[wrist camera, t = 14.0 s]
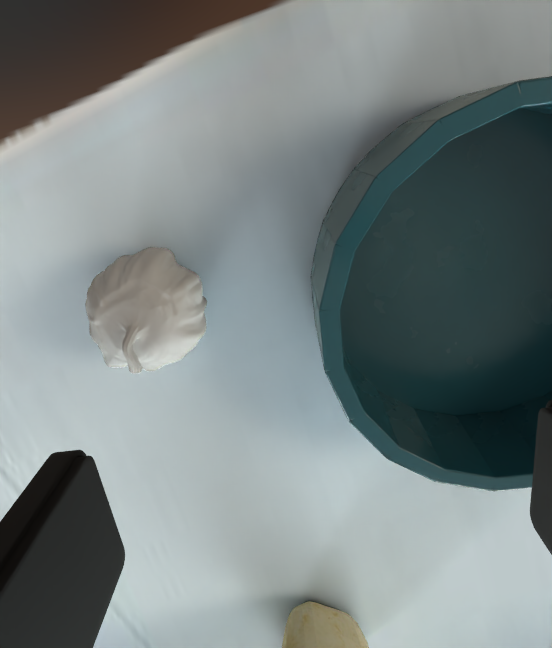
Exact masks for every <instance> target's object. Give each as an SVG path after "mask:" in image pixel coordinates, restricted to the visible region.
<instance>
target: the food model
mask: <svg viewBox="0 0 552 648" xmlns="http://www.w3.org/2000/svg"><path fill="white" fill-rule="evenodd" d="M282 648H369V647H368V643H367V641H366V639H365V637H364V635H363V633H362V631H361V630H360V628H359V626H358V624H357V622H356V621H355V620H354V619H353V618H352V617H351V616H350V615H349V614H347V613H345V612H342V611H339V610H337V609H334V608H331V607H327V606H324V605H322V604H319V603H315V602H310V601H308V602H305V603H303V604H301V605H299V606H297V607H295V608H293V609H292V611H291V613H290V614H289V617H288V620H287V624H286V627H285V633H284V638H283V644H282Z"/></svg>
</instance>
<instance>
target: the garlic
mask: <svg viewBox="0 0 552 648" xmlns="http://www.w3.org/2000/svg"><path fill="white" fill-rule="evenodd" d="M202 292H203V287H202V282H201V280H200V277H199V276H198V274H197V273H195V272H193V271H190V270H189V269H187V268H185V267H183V266H181V265H179V264H178V263H177V262H176V259H175V257H174V254H173V252H172V251H170V250H169V249H167V248H158V247H149V248H146V249H144V250H142V251H140V252H138V253H136V254H134V255H124V256H121V257H119V258H117V259H116V260H115V261H114V263H112V264H111V265H109V266H108V267H107V268H106V269H105V271H102V272H100V273H99V274H98V275H96V276H95V278H94V279H93V281H92V283H91V286H90V287H89V289H88V292H87V299H86V303H85V306H86V311H87V315H88V319H89V321H90V336H91V338H92V340H93V341H94V342H95V343H96V344H98V347H99V348H100V350H101V351H102V354H103V358H104V361H105V363H106V365H107V366H109V367H111V368H123V367H126V366H128V367H129V371H130V372H131V373H132V374H138V373H140V372H141V370H142V369H144V370H146V371H148V372H153V371H156V370H158V369H159V368H161V367H162V366H164V365H166V364H170V363H174V362H178V361H180V360H181V359H182V358H183V357H184V356H185V355H186V354H187V353H188V352H190V351H191V350H192V349H194V348H195V346H196V345H197V343H198V341H199V340H200V339H201V338H202V336H203V335H204V334H205V331H206V318H205V314H204V311H205V308H206V306H207V300H206V298H205V297H204V296H202Z"/></svg>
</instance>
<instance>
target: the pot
mask: <svg viewBox="0 0 552 648" xmlns="http://www.w3.org/2000/svg"><path fill="white" fill-rule="evenodd" d="M311 286H312V299H313V307H314V317H315V326H316V331H317V336H318V341H319V346H320V351H321V356H322V361H323V366H324V370H325V373H326V375H327V377H328V379H329V381H330V383H331V386H332V388H333V390H334V392H335V394H336V396H337V398H338V400H339V402H340V404H341V406H342V408H343V411H344V413H345V415H346V417H347V419H348V420H349V422H350V423H351V424H352V425H353V426H354V427H355V428H356V429H357V430H358V431H359V432H360V433H361V434H362V435H363V436H364V437H365V438H366V439H367V440H368V441H369V442H370V443H371V444H372V445H373V446H374V447H375V448H376V449H378V450H379V451H380V452H381V453H382V454H383V455H384V456H385V457H386V458H387V459H388V460H390V461H392V462H395V463H397V464H399V465H401V466H403V467H405V468H407V469H409V470H411V471H413V472H415V473H417V474H420V475H422V476H424V477H426V478H428V479H430V480H432V481H434V482H438V483H444V484H450V485H457V486H463V487H469V488H475V489H481V490H487V491H502V490H513V489H524V488H532V481H533V469H534V457H535V446H536V434H537V423H538V414H539V411H540V409H541V408H546V405H547V403H548V401H550V400H552V76H550V77H543V78H535V79H528V80H521V81H517V82H513V83H509V84H505V85H501V86H497V87H493V88H489V89H485V90H481V91H478V92H474V93H470V94H466V95H462V96H459V97H457V98H455V99H453V100H451V101H449V102H447V103H444V104H442V105H440V106H437V107H435V108H433V109H431V110H429V111H427V112H425V113H423V114H421V115H419V116H417V117H415V118H413V119H412V120H410V121H407V122H405V123H403V124H402V125H400V126H399V127H398V128H397V129H396V130H395V131H394V132H392V133H391V134H390V135H388V136H387V137H386V138H385V139H384V140H383V141H381V142H380V143H379V144H378V145H377V146H376V147H375V148H373V149H372V150H371V151H370V152H369V153H368V154H367V156H366V157H365V158H364V159H363V160H362V161H361V162H360V163H359V164H358V165H357V166H356V167H355V168H354V170H353V171H352V172H351V174H350V176H349V177H348V178H347V180H346V181H345V183H344V184H343V186H342V187H341V188H340V190H339V191H338V193H337V195H336V197H335V199H334V201H333V203H332V205H331V206H330V208H329V210H328V212H327V215H326V217H325V219H324V220H323V224H322V228H321V230H320V233H319V237H318V241H317V245H316V249H315V253H314V260H313V267H312V271H311Z"/></svg>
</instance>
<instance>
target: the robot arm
mask: <svg viewBox="0 0 552 648" xmlns="http://www.w3.org/2000/svg"><path fill="white" fill-rule="evenodd" d="M530 516H531V520H532V523H533V526H534V528H535V530H536V532H537V533H538V535H539V536H540V538H541V539H542V541H543V542H544V544H545V545H546V547H547V548H548V550H549V551H550V553H551V554H552V400H550V401H548V403H547V405H546V408H541V409H540V411H539V414H538V423H537V434H536V446H535V457H534V469H533V481H532V492H531V504H530ZM124 560H125V550H124V546H123V543H122V541H121V538H120V535H119V532H118V529H117V526H116V523H115V520H114V517H113V514H112V511H111V508H110V505H109V502H108V499H107V497H106V494H105V491H104V488H103V485H102V482H101V479H100V476H99V473H98V470H97V467H96V464H95V461H94V459H93V458H92V457H91V456H86V454H85V453H84V452H83V451H82V450H74V451H65V452H56V453H53V454H51V455H50V456H49V458H48V459H47V460H46V462H45V463H44V464H43V466H42V467H41V468H40V470H39V471H38V472H37V474H36V475H35V476H34V478H33V479H32V480H31V482H30V483H29V484H28V486H27V487H26V488H25V490H24V491H23V492H22V494H21V495H20V496H19V498H18V499H17V500H16V502H15V503H14V504H13V506H12V507H11V508H10V510H9V511H8V512H7V514H6V515H5V516H4V518H3V519H2V520H1V522H0V648H93V646H94V643H95V640H96V638H97V635H98V632H99V630H100V627H101V624H102V622H103V619H104V617H105V614H106V611H107V609H108V606H109V603H110V601H111V598H112V595H113V593H114V590H115V587H116V585H117V582H118V579H119V577H120V574H121V571H122V569H123V566H124Z"/></svg>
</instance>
